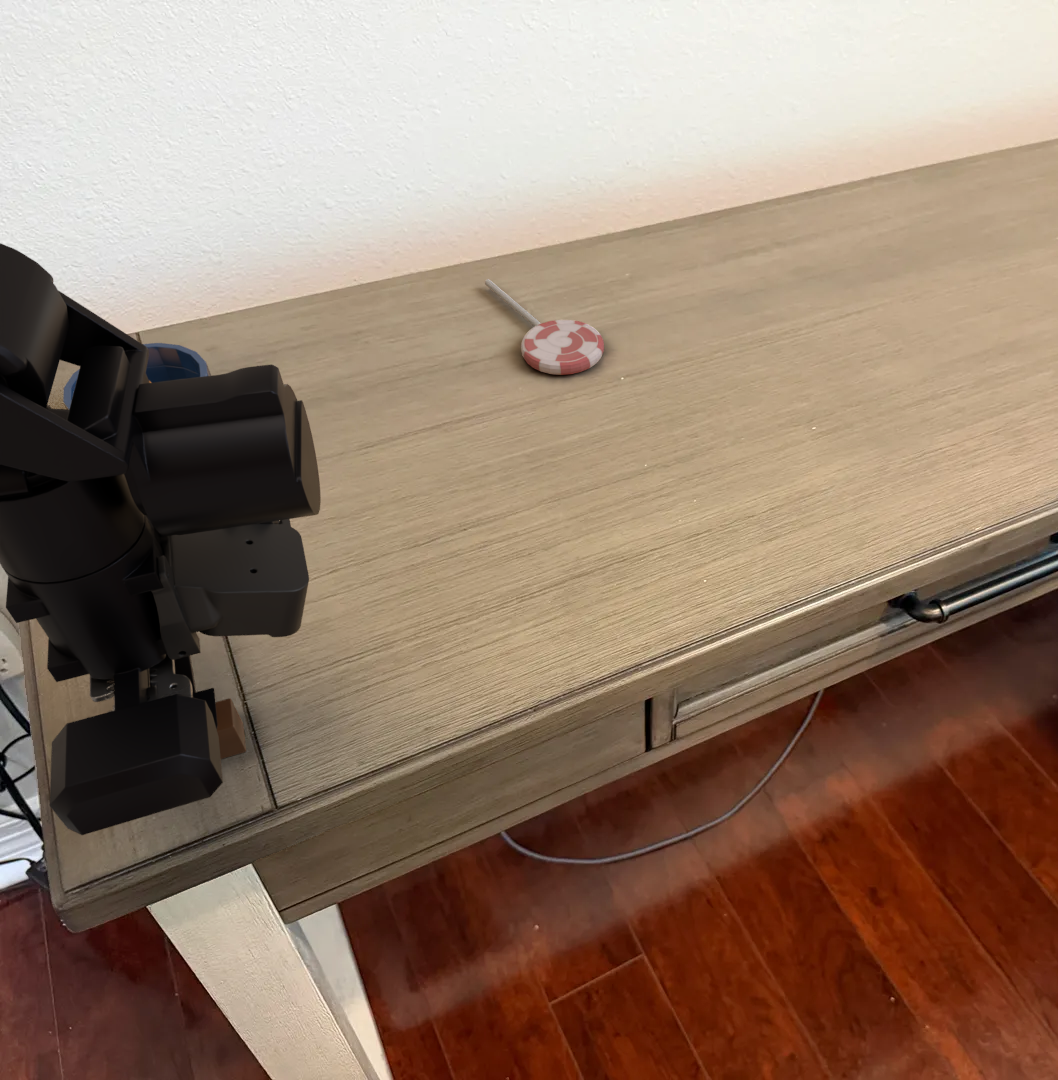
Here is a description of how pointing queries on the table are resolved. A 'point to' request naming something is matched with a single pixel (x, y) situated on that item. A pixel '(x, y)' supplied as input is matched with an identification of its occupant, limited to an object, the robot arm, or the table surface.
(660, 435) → the table surface
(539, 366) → the lollipop
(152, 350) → the bowl
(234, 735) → the tall brown square pillar
